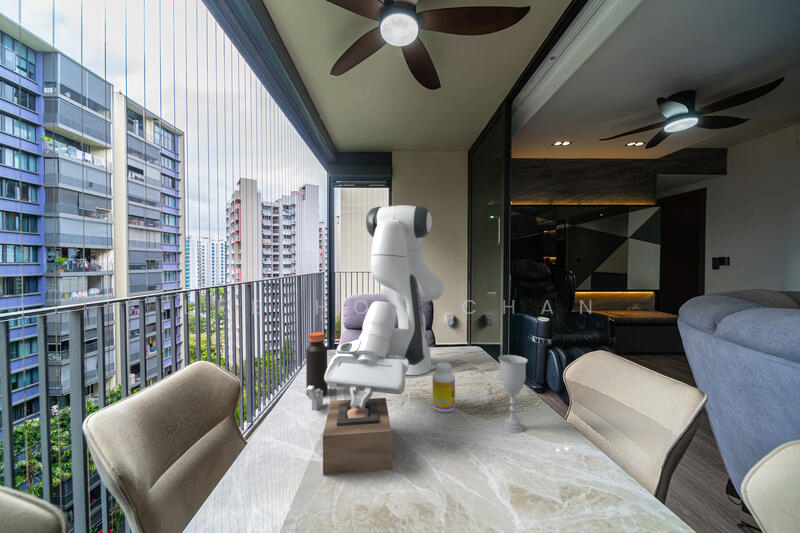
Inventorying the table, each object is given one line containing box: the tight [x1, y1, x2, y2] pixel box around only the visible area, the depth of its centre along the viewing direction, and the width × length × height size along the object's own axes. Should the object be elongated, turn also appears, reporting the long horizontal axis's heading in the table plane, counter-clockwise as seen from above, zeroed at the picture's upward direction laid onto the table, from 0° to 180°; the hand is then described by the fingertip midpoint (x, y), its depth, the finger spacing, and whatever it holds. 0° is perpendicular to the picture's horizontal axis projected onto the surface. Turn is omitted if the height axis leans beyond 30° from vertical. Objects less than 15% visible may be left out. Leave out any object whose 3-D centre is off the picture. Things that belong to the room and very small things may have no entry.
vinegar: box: [305, 331, 329, 398], centre depth 100 cm, size 7×7×20 cm
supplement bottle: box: [432, 362, 456, 413], centre depth 90 cm, size 7×7×13 cm
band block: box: [322, 397, 392, 476], centre depth 70 cm, size 16×14×9 cm
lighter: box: [305, 386, 324, 412], centre depth 90 cm, size 7×2×8 cm, turn 168°
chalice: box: [497, 354, 528, 434], centre depth 79 cm, size 7×7×18 cm
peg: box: [347, 408, 369, 418], centre depth 70 cm, size 5×5×8 cm
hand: (356, 408), depth 70 cm, fingers closed
